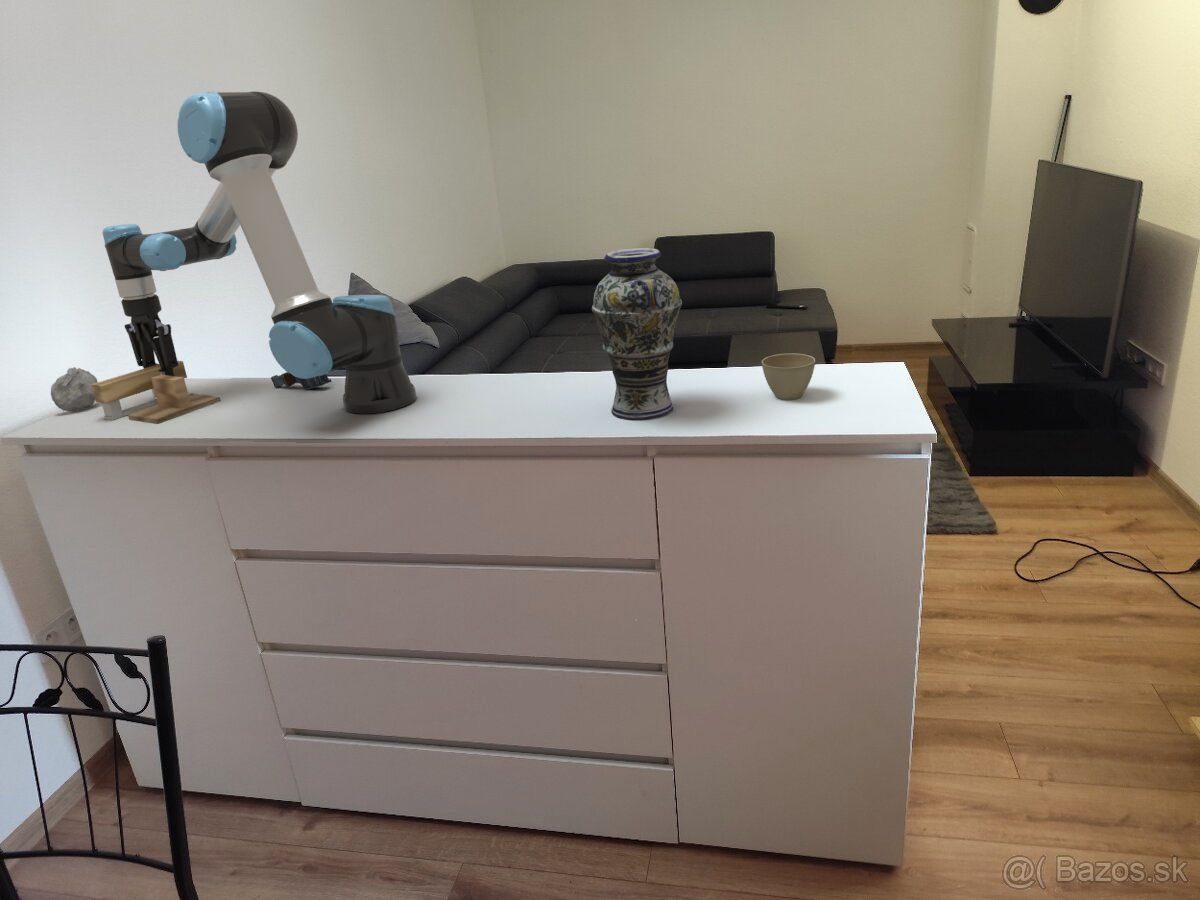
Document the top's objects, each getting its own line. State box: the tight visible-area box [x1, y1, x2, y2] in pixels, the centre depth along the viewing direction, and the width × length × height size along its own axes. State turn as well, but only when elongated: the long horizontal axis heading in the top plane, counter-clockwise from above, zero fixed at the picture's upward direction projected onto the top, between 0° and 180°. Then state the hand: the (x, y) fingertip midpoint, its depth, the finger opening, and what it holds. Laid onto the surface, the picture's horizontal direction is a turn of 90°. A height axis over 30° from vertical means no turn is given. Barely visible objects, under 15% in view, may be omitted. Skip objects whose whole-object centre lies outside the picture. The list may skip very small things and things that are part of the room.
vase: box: [591, 247, 683, 421], centre depth 159 cm, size 17×17×30 cm
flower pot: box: [761, 353, 816, 401], centre depth 164 cm, size 10×10×7 cm
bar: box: [91, 360, 188, 404], centre depth 193 cm, size 4×20×4 cm, turn 151°
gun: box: [270, 371, 332, 391], centre depth 197 cm, size 3×17×15 cm
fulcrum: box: [127, 375, 222, 424], centre depth 189 cm, size 10×16×8 cm, turn 151°
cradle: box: [101, 398, 158, 421], centre depth 194 cm, size 3×19×4 cm, turn 151°
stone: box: [50, 367, 99, 412], centre depth 195 cm, size 9×7×10 cm
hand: (166, 396), depth 198 cm, fingers closed on bar, 4 cm apart
